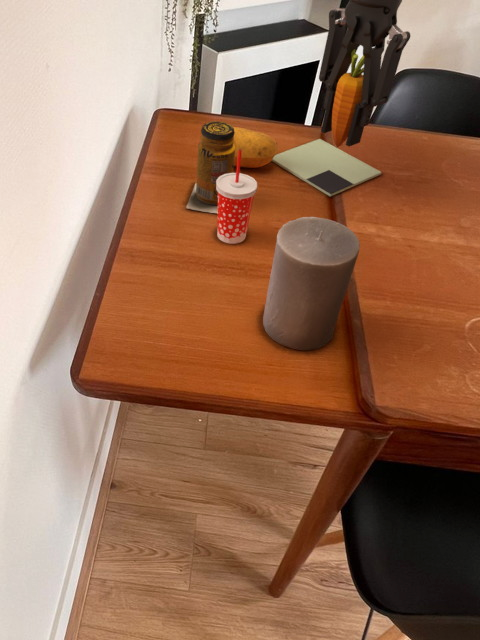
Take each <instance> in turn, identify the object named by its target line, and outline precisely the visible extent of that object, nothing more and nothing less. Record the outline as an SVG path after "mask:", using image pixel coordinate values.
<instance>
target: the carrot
mask: <svg viewBox="0 0 480 640" xmlns="http://www.w3.org/2000/svg"><path fill="white" fill-rule="evenodd" d="M351 58H352V62H351V65H350V72H347V73H345V74H343V75H342V76H341V78H340V79H339V81H338V84H337V88H336V93H335V98H334V104H333V110H332V131H331V133H332V139H333V143H334V145H335V147H336V148H339V147H341V146H342V145H343V144H344V142H346V141H347V138H348V134H349V130H350V126H351V122H352V118H353V115H354V111H355V107H356V104H358V103H360V102H361V99H362V86H363V72H364V59H365V57H364V56H363V55H362V56H361V58H360V59H359V54H358V53H357V51H355V49H354V50H353V51H352V53H351ZM358 59H359V60H358Z"/></svg>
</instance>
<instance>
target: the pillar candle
mask: <svg viewBox="0 0 480 640" xmlns="http://www.w3.org/2000/svg"><path fill="white" fill-rule="evenodd" d="M360 246H361V243H360V239H359V238H358V236H357V235H356V233H355V232H354V231H353V230H352V229H350V228H349V227H347V226H346V225H344V224H342V223H340V222H337V221H335V220H331V219H328V218H324V217H316V216H303V217H297V218H296V219H294V220H289V221H288V222H286V223H284V224H283V225H282V226H281V227H280V228H279V229H278V232H277V235H276V242H275V247H274V254H273V257H272V265H271V270H270V276H269V281H268V286H267V292H266V300H265V305H264V312H263V316H262V324H263V325H262V326H263V328H264V330H265V332H266V334H267V335H268V336H269V338H271V339H272V340H273V341H274V342H275V343H277V344H279V345H281V346H283V347H286V348H290V349H294V350H298V351H312V350H317V349H320V348H322V347H323V346H325V345H326V344H328V343H329V342H330V341H331V340H332V338H333V337H334V331H335V328H336V324H337V323H338V320H339V316H340V312H341V309H342V305H343V302H344V300H345V297H346V294H347V291H348V287H349V285H350V281H351V278H352V275H353V272H354V269H355V267H356V263H357V259H358V256H359V253H360V248H361V247H360Z"/></svg>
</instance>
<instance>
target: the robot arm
mask: <svg viewBox="0 0 480 640" xmlns="http://www.w3.org/2000/svg"><path fill="white" fill-rule="evenodd" d="M402 3H403V0H349V1H348V3H347V4H346V6H345V7H339V8H335V9H330V11H329V12H328V31H327V36H326V40H325V45H324V51H323V56H322V60H321V65H320V70H319V75H318V80H319V82H321V83H324V84H325V88H326V93H325V97H324V101H323V109H324V110H325V111H324V116H323V121H322V125H321V130H320V132H321V133H323V134H326V133H328V132H329V133H330V132H332V110H333V104H334V98H335V93H336V88H337V84H338V81H339V79H340V78H341V76H342V75H343V74H345V73H348V72H349V69H350V68H351V62H352V58H351V53H352V51H353V50H354V49H355V51H356V52H357V51H358V49H359V47H360V46H361V47H362V56H364V57H365V59H364V65H363V67H364V72H363V73H362V75H363V86H362V99H361V102H360V103H358V104H356V107H355V111H354V115H353V118H352V122H351V126H350V130H349V134H348V137H347V139H346V140H345V146H346V147H352V146H354V145H357V144H360V143H361V139H362V137H363V133H364V129H365V127H367V126H369V124H370V121H371V119H372V114H373V111H374V108H375V107H378V106H381V105H384V104H386V103H388V101H389V98H390V94H391V92H392V88H393V85H394V81H395V78H396V74H397V71H398V67H399V64H400V62H401V61H400V60H401V57H402V54H403V51H404V49H405V47H406V46H407V44H408V42H409V41H410V40H411V33H410V31H407V30H406V31H403V30H402V29H401V28H400V26H398V11H399V8H400V6H401V4H402ZM346 27H347V29H346ZM387 37H388V39H387V40H386V38H387ZM386 44H387V47H386V48H385V46H386ZM383 53H384V54H383ZM382 56H383V57H382Z"/></svg>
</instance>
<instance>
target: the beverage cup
mask: <svg viewBox="0 0 480 640" xmlns="http://www.w3.org/2000/svg"><path fill="white" fill-rule="evenodd" d="M241 153H242V150H241V149H239V150H238V160H237V167H236V170H235V171H236V172H233V173H228V174H224V175H222V176H219V178H218V179H217V180H216V190H217V191H218V213H217V217H216V219H217V226H216V227H217V228H216V230H217V231H216V233H217V234H216V237H217V238H218V240H220V241H221V242H222V243H226V244H231V245H233V244H234V245H235V244H240V243H242V242H244V240H245V239H246V237H247V232H248V227H249V223H250V217H251V212H252V207H253V202H254V196H255V194H256V193H257V189H258V182H257V180H255V178H254V177H252V176H250V175H248V174H245V173H241V172H240V170H241V167H240V163H241Z"/></svg>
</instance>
